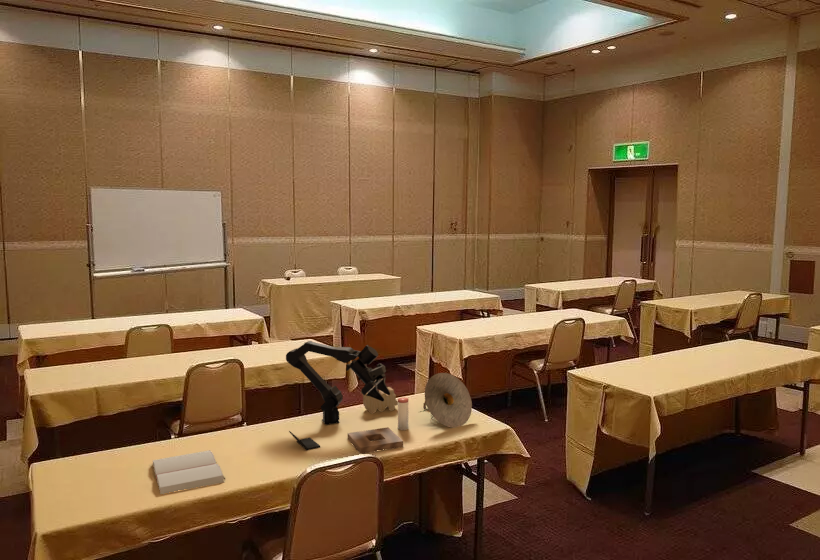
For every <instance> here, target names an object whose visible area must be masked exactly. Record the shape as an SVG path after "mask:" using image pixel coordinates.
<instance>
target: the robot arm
mask: <svg viewBox="0 0 820 560" xmlns="http://www.w3.org/2000/svg"><path fill="white" fill-rule="evenodd" d="M307 353H315V354H319V355H323V356H328V357H331V358H334V359H335V360H336V361H339V362H340V363H343V364H346V367H345V368H346V369H345V370H346V372H348V371H349V370H351V371H352V372H353V373H354V374H356V376H357V377H358V378H357V379H358V381H362V382H363V383H364V386H363V387H362V388H361V389H360V390H361V391H360V393H361V395H362V396H363V395H365V394H366V393H367V392H368V394H367V395H366V396H370V397H373V398H375V399H378V400H380V401H384V398H383V397H382V395H381V394H380V392H379V390H380V391H382V392H384V393H385V394H387V395H390V392H389V390H388V388H387V387H388V386H387V384H386V378H387V377H386V374H385V373H386V372H387V370H386V366H385V365H384V364H382V363H378V364H377V365H376V367H375V368H372V367H368V366H367V365H370V364H372V362H374V361H375V360H376V359H377V358H378V357H379V353H378V351H377V350H376V349H375V348H374V347H372V346H370V345H369V344H367V345H365V346H364V347H363V349H362V350H361V351H360V350H355V349H354V348H352V347H350V346H340V347H339V346H338V347H337V346H332V345H327V344H323V343H318V342H313V341H312V340H308V341H306V342H304V343H303V344H302V345H300V346H299V347H297V348H294V349H291V350H290V351H288V352H286V354H285V361H286V362H287V364H289V365H290V366H291V367H293V368H295V369H298V370H299V371H300V372H301V373H302V374H303V375H304V376H305V378H307V379H308V381H309V382H311V383H312V385H313V386H314V387H315V388H316V389H317V390H318V391H319V393H320V394H321V398H322V400H323V401H324V403H322V405H320V409H321V411H322V419H321V421H322V423H323V424H324V425H332V424H333V425H334V424H339V423H340V411H339V408H338V407H339V406H340V404H341V403H342V402H343V398H344V397H343V395H344V394H342V391H341V390H340V389H339V388H338V386H336V385H334V386H331V385H330V384H328V383H327V382H326V380H325V379H323V377H322V376H321V375H320V374H319V373H318V372H317V371H316V369H314V368H313V367H312V365H311V364H310V363H309V362H308V359H307V356H306V354H307Z"/></svg>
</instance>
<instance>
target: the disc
mask: <svg viewBox="0 0 820 560" xmlns="http://www.w3.org/2000/svg"><path fill="white" fill-rule="evenodd" d="M470 395H471V394H470V392H469V390H468V388H467V387H466V385H465V383H464V382H462V381H461V380H460V379H459V378H458V377H457V376H455V375H453V374H451V373H448V372H439V373H435V374H434V375H432V376H431V377H430V378H429V379H428V381H426V384H425V387H424V402H425V401H426V404H425V403H423V405H424V404H425V406H426V408H427V409H426V408H425V409H424V410H421V411H418V413H424V412H427V411H429V413H430V417H431V419H429V422H431V421H432V420H433V418H434V419H435V420H436V421H437V422H438V423H440V424H441V425H442V426H445V427H449V428H458V427H462V426H464V425H465V424H466V423H467V422H468V420H469V418H470V417H471V415H472V409H473V408H472V407H473V403H472V398H471V396H470Z"/></svg>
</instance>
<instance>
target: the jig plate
mask: <svg viewBox="0 0 820 560" xmlns="http://www.w3.org/2000/svg"><path fill="white" fill-rule="evenodd" d="M347 440H348V441H349V443H350V444H351V443H352V444H353V445H352V444H351V445H352V446H353V447H354V448H355V450H356V451H357V452H358V453H359V454H360V453H362V454H368V453H375V452H378V451H377V450H381V451H386V450H385V449H387V450H392V448H394V449H398V447H400V448H404V440H403V439H402V438H401V437H400V436H399V435H398V434H396V433H395V432H394V431H393V430H392V428H390V427H388V426H387V427H381V428H374V429H367V430H361V431H360V430H359V431H353V432H347ZM372 440H373V441H372ZM383 449H384V450H383ZM374 451H375V452H374Z"/></svg>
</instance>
